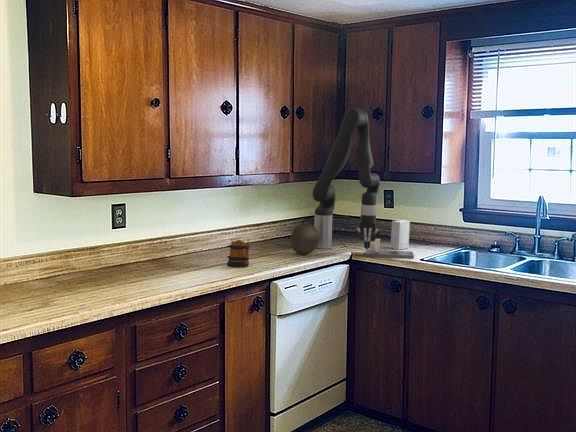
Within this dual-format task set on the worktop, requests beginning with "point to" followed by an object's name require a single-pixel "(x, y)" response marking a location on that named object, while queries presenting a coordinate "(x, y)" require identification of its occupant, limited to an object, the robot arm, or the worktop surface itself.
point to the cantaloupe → (304, 239)
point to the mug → (238, 254)
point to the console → (388, 253)
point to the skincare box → (400, 234)
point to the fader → (377, 245)
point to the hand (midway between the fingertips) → (366, 248)
